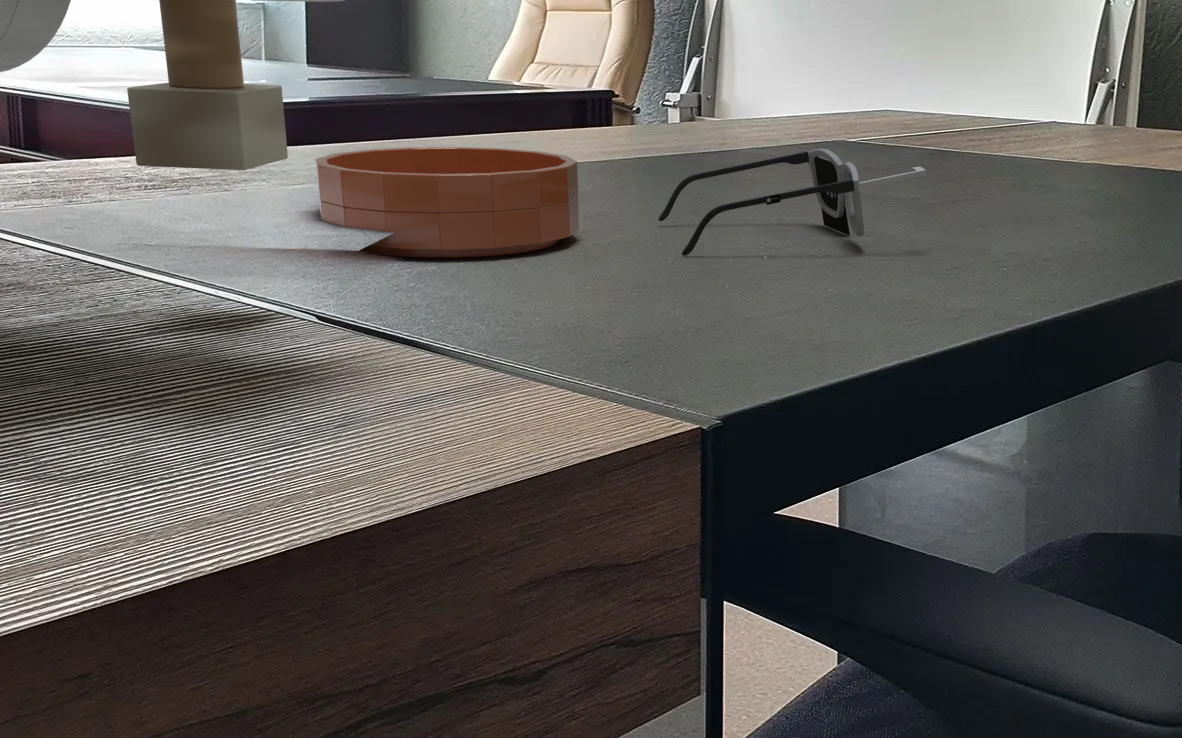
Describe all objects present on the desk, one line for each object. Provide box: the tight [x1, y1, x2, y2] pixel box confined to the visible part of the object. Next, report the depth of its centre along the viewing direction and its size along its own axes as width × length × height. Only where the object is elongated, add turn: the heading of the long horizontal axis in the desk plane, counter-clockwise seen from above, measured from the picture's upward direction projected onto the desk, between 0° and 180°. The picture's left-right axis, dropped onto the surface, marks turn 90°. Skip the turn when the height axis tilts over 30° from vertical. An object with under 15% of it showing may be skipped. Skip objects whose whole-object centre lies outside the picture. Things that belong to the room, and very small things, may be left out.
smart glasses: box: [658, 148, 927, 257], centre depth 83 cm, size 12×14×5 cm
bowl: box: [314, 146, 580, 259], centre depth 79 cm, size 14×14×4 cm
